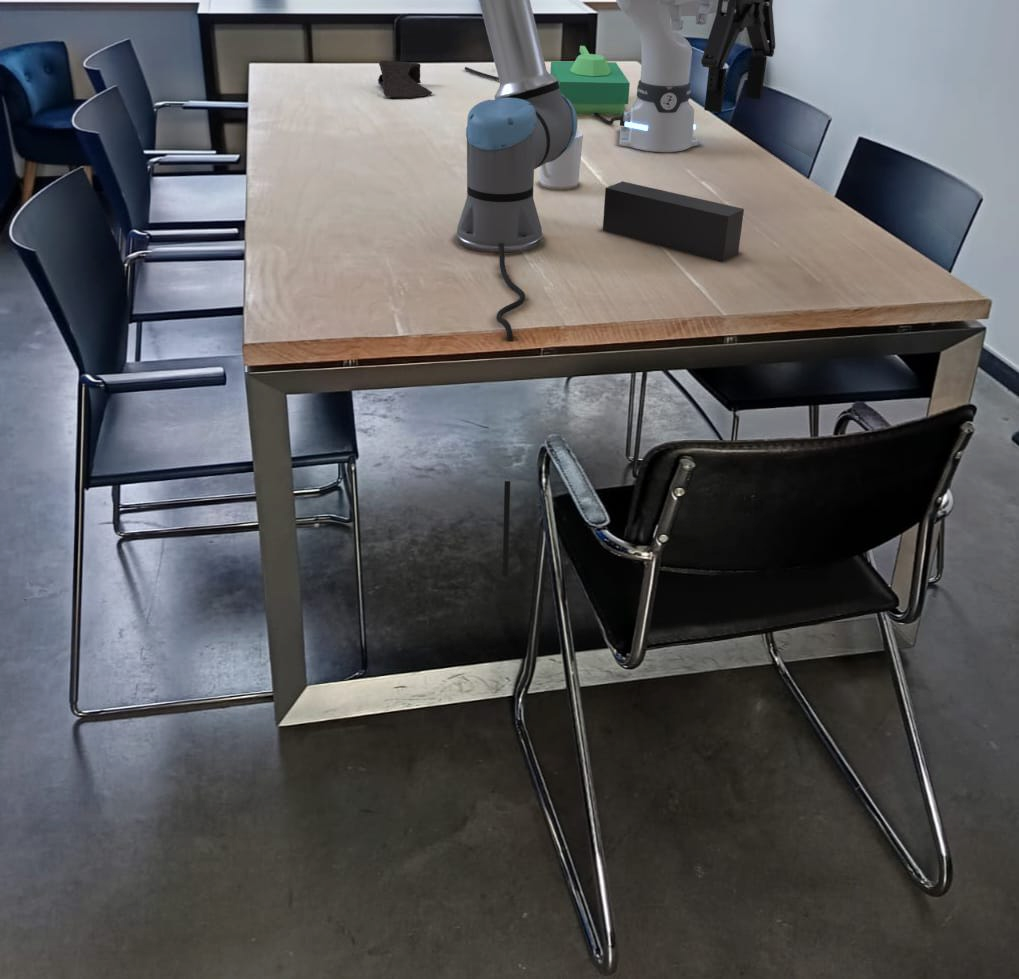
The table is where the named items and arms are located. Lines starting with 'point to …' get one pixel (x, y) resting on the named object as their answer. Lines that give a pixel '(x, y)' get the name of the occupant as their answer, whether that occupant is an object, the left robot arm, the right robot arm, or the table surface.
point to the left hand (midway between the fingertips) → (733, 104)
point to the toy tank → (592, 84)
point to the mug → (563, 167)
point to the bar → (673, 220)
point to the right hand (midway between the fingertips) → (688, 27)
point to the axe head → (401, 79)
